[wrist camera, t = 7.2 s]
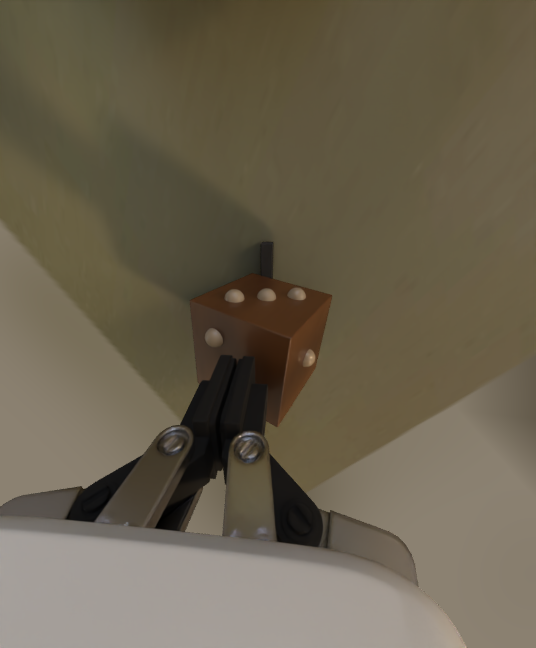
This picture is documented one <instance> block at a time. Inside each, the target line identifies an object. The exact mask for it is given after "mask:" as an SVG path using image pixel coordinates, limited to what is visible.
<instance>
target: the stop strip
mask: <svg viewBox="0 0 536 648" xmlns="http://www.w3.org/2000/svg"><path fill="white" fill-rule="evenodd" d="M261 276H264V277H268V278H271V279H273V242H262V243H261Z"/></svg>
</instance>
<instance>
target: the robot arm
mask: <svg viewBox="0 0 536 648" xmlns="http://www.w3.org/2000/svg"><path fill="white" fill-rule="evenodd" d="M267 399H268V384H255V357H253V356H243V359H239V360H238V363H237V360H236V358H233V356H232V355H221V356H220V358H219V360H218V362H217V364H216V367H215V369H214V371H213V374H212V376H211V378H210V380H202V381H201V383H200V385H199V387H198V389H197V391H196V393H195V395H194V397H193V399H192V401H191V403H190V405H189V407H188V409H187V412H186V414H185V416H184V418H183V420H182V422H181V424H180V425H175V426H171V427H169V428H166V429H165V430H163V431H162V432H161V433H160V434H159V435H158V436H157V437H156V438H155V439H154V441H153V442H152V444H151V445H150V446H149V448H148V449H147V451H146V452H145V453H144V454H143V455H142V456H140V457H138V458H136V459H135V460H133V461H131V462H130V463H128V464H126V465H124V466H123V467H121V468H119V469H118V470H116V471H114V472H112V473H110V474H109V475H107V476H105V477H104V478H102V479H100V480H98V481H97V482H95V483H93V484H92V485H90V486H89V487H88V488H86V489H83V488H82V487H81V486H80V487H74V488H67V489H61V490H54V491H48V492H41V493H35V494H29V495H23V496H19V497H16V498H14V499H12V500H10V501H8V502H6V503H5V504H3V505H2V506H1V507H0V648H467V647H466V645H465V643H464V641H463V640H462V638H461V636H460V634H459V632H458V631H457V629H456V628H455V626H454V625H453V624H452V622H451V620H450V619H449V618H448V616H447V615H446V613H445V612H444V611H443V610H442V609H441V607H440V606H439V605H438V604H437V603H436V602H435V601H434V600H433V599H432V598H431V597H430V596H428V595H427V594H426V593H425V592H424V591H422V590H421V589H420V588H419V586H418V580H417V574H416V568H415V564H414V561H413V557H412V554H411V553H410V551H409V550H408V548H407V546H406V545H405V543H404V542H403V541H401V539H400V538H399V537H398V536H396V535H394V534H392V533H391V532H389V531H386V530H383V529H381V528H378V527H375V526H372V525H370V524H367V523H364V522H362V521H359V520H356V519H353V518H351V517H348V516H345V515H342V514H340V513H337V512H334V511H331V510H330V513H329V512H326V511H324V510H321V509H318V508H317V506H316V505H315V503H314V502H313V501H312V500H311V499H310V498H309V497H308V496H307V494H306V493H305V492H304V491H303V490H302V489H301V488H300V487H299V486H298V485H297V483H296V482H295V481H294V480H293V479H292V478H291V477H290V476H289V475H288V473H287V472H286V471H285V470H284V469H283V468H282V467H281V466H280V465H279V463H278V462H277V461H276V460H275V459H274V458H273V457H272V456H271V455H270V453H269V445H268V441H267V440H266V438H265V437H264V433H265V424H266V414H267ZM222 468H223V471H224V479H225V484H226V495H225V509H224V521H223V534H222V536H218V535H209V534H200V533H190V532H185V530H186V528H187V526H188V523H189V521H190V519H191V516H192V514H193V512H194V510H195V507H196V505H197V503H198V500H199V498H200V496H201V493H202V490H203V486H205V485H206V484H207V483H208V482H209V481H210V478H211V479H215V478H216V475H217V471H221V470H222Z"/></svg>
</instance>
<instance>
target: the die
mask: <svg viewBox="0 0 536 648" xmlns="http://www.w3.org/2000/svg"><path fill="white" fill-rule="evenodd" d="M331 299H332V295H330V294H326V293H322V292H319V291H315V290H312V289H308V288H304V287H301V286H297V285H293V284H290V283H286V282H282V281H279V280H275V279H271V278H268V277H264V276H260V275H257V274H253V273H252V274H249V275H247V276H245V277H243V278H240V279H238V280H236V281H233V282H231V283H229V284H226V285H224V286H222V287H219V288H217V289H215V290H212V291H210V292H208V293H205V294H203V295H201V296H198V297H196V298H194V299H192V300H190V309H191V319H192V329H193V339H194V349H195V359H196V369H197V378H198V383H199V384H200V383H201V381H202V380H210V378H211V376H212V374H213V371H214V369H215V367H216V364H217V362H218V360H219V358H220V356H221V355H232V356H233V358H236V360H237V363H238V360H239V359H243V356H253V357H255V384H268V399H267V414H266V421H267V422H269V423H270V424H272V425H274V426H276V427H278V426H279V424H280V423H281V421H282V419H283V418H284V416H285V415H286V413H287V412H288V410H289V409H290V407H291V405H292V404H293V402H294V401H295V399H296V398H297V396H298V395H299V393H300V391H301V390H302V388H303V387H304V385H305V384H306V382H307V381H308V379H309V377H310V376H311V374H312V373H313V371H314V370H315V367H316V363H317V359H318V355H319V350H320V346H321V342H322V338H323V333H324V329H325V325H326V321H327V316H328V312H329V308H330V304H331Z"/></svg>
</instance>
